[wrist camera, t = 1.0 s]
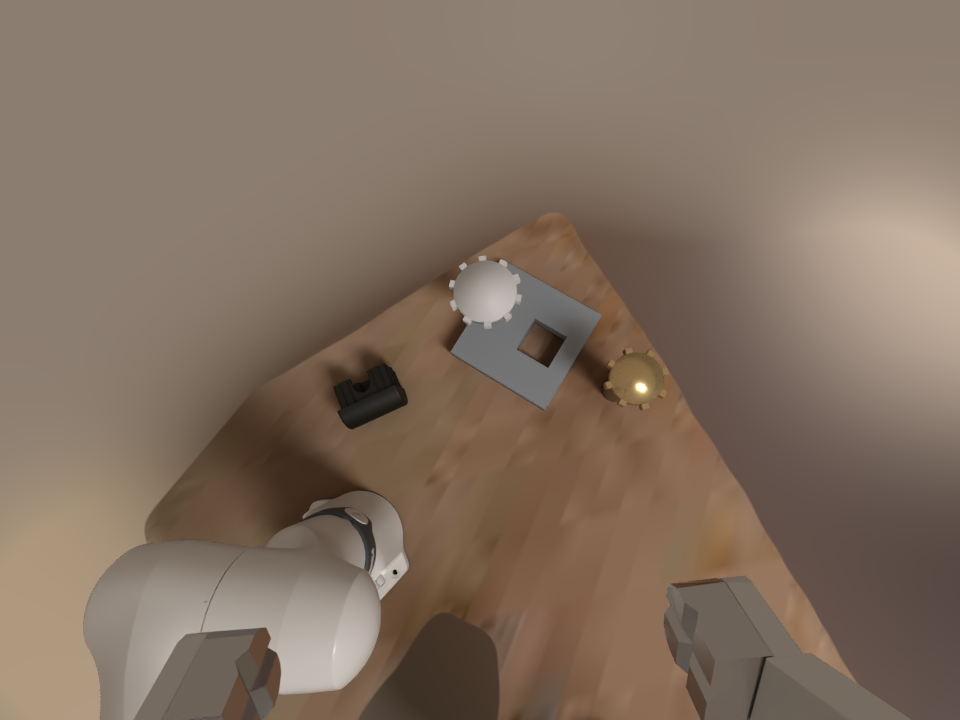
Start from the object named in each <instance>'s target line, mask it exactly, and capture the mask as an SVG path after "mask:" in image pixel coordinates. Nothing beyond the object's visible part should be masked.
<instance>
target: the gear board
mask: <svg viewBox="0 0 960 720" xmlns="http://www.w3.org/2000/svg"><path fill="white" fill-rule="evenodd" d="M459 269H460V271H461V272H460V274H459V275H458V277H457V278H456V281H454V280H450V284H449V288H450V290H453V294H454V300H452V301H450V304H451V306H452V308H453V310H457V309H459V311H460V312H461V313H462V315H463V316H464V318H463V322H464V323H466V324H467V326H466V328H465V330H464V331H463V333H462V334H461V336H460V337H459V339H458V341H457V342H456V344H455V345H454V347H453V348H452V350H451V352H450V353H451V354H452V355H453V356H454V357H456V358H458V359H459V360H461V361H463V362H464V363H466V364H468V365H469V366H471V367H472V368H474V369H476V370H477V371H479V372H481V373H482V374H484V375H486V376H487V377H489V378H491V379H492V380H494V381H496V382H497V383H499V384H501V385H502V386H504V387H505V388H507V389H509V390H510V391H512V392H514V393H515V394H517V395H519V396H520V397H522V398H524V399H525V400H527V401H529V402H530V403H532V404H533V405H535V406H537V407H538V408H540V409H542V410H543V411H544V410H545V409H546V408H547V406H548V404H549V403H550V401H551V399H552V398H553V396H554V394H555V393H556V391H557V389H558V388H559V386H560V384H561V383H562V381H563V379H564V378H565V376H566V374H567V373H568V371H569V369H570V368H571V366H572V364H573V363H574V361H575V359H576V358H577V356H578V354H579V353H580V351H581V349H582V347H583V346H584V344H585V342H586V341H587V339H588V337H589V336H590V334H591V332H592V331H593V329H594V327H595V326H596V324H597V322H598V321H599V319H600V317H601V316H602V315H601V314H599V313H597V312H595V311H594V310H592V309H590V308H588V307H586V306H585V305H583V304H581V303H579V302H577V301H576V300H574V299H572V298H570V297H568V296H567V295H565V294H563V293H561V292H560V291H558V290H556V289H554V288H552V287H551V286H549V285H547V284H545V283H543V282H542V281H540V280H538V279H536V278H534V277H533V276H531V275H529V274H527V273H526V272H524V271H522V270H520V269H518V268H517V267H515V266H513V265H511V264H509V263H508V262H506V261H504V260H502V259H501V260H500V261H499V263H497V262H494V261H486V256H479V261H478V262H474V263H472V264H470V265H468V266H467V265H466V264H465V263H463V264H462V265H460V266H459ZM534 323H535V324H537V325H539V326H540V327H542V328H544V329H546V330H547V331H549V332H551V333H553V334H554V335H556V336H558V337H560V338H561V339H563V340H565V341H564V343H563V344H562V346H561V348H560V349H559V351H558V353H557V354H556V356H555V358H554V359H553V361H552V362H551V364H550V366H549V367H548V368H547V367H546V366H544V365H542V364H540V363H539V362H537V361H535V360H534V359H532V358H530V357H529V356H527V355H525V354H523V353H522V352H520V351H518V349H519V347H520V345H521V344H522V342H523V340H524V339H525V337H526V336H527V334H528V332H529V331H530V329H531V327H532V326H533V324H534Z"/></svg>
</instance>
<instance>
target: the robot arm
mask: <svg viewBox="0 0 960 720" xmlns="http://www.w3.org/2000/svg"><path fill="white" fill-rule="evenodd" d="M408 568H409V563H408V559H407V556H406V554H405V551H404V549H403V530H402V525H401V521H400V518H399V516H398V514H397V512H396V511H395V509H394V508H393V506H392V505H391V504H390V503H389V502H388V501H387V500H386V499H384V498H383V497H381V496H379V495H377V494H375V493H372V492H368V491H353V492H349V493H346V494H343V495H341V496H339V497H337V498H334V499H322V500H317V501H315V502H314V503H312V504H311V506H310V508H309V511H308V512H307V513H305V514H304V515H303V520H301V521H300V522H299V523H297V524H294V525H291V526H289V527H286V528H284V529H282V530H281V531H279V532H278V533H276V534H275V535H274V536H273V537H272V538H271V539H270V540H269V541H268V543H267V544H266V546H265V547H259V546H257V547H248V546H240V545H233V544H225V543H217V542H209V541H201V540H179V541H167V542H158V543H150V544H143V545H140V546H137V547H135V548H133V549H131V550H129V551H128V552H126V553H125V554H123V555H122V556H121V557H120V558H119V559H117V560H116V561H115V562H114V563H113V564H112V565H111V566H110V567H109V568H108V569H107V570H106V571H105V573H104V574H103V575H102V577H101V578H100V579H99V581H98V582H97V584H96V586H95V587H94V589H93V591H92V593H91V595H90V597H89V600H88V602H87V605H86V610H85V614H84V622H83V631H84V639H85V642H86V644H87V647H88V648H89V650H90V652H91V654H92V656H93V658H94V660H95V663H96V666H97V670H98V675H99V681H100V691H101V692H100V693H101V707H100V708H101V709H100V720H263V719H264V718H265V717H266V715H267V714H268V713H269V712H270V711H271V710H272V709H273V708H274V706H275V702H276V699H277V696H278V694H301V693H314V692H323V691H332V690H339V689H342V688H343V687H344V686H346V685H347V684H348V683H349V682H350V681H351V680H352V679H353V678H354V677H355V676H356V675H357V674H358V673H359V672H360V670H361V669H362V668H363V666H364V665H365V663H366V662H367V660H368V659H369V657H370V655H371V653H372V651H373V649H374V646H375V644H376V641H377V638H378V634H379V630H380V623H381V605H380V600H381V599H382V598H383V597H384V596H385V595H386V594H387V593H388V591H389V590H390V589H391V588H392V587H393V586H394V585H395V584H396V583H397V582H398V580H399V579H400V578H401V577H402V576H403V575H404V574H405V573H406V572H407V570H408ZM393 570H397V572H398V573H397V574H394V572H393ZM666 597H667V599H668V601H669V603H670V605H671V606H670V607H669V608H668V609H667V610H666V611H665V614H664V628H665V634H666V639H667V642H668V646H669V649H670V651H671V654H672V656H673V658H674V661H675V663H676V664H677V665H678V666H679V667H681V668H682V669H683V670H684V671H685V672H687V673H688V677H687V684H686V688H687V690H688V693H689V695H690V697H691V699H692V702H693V704H694V706H695V708H696V711H697V713H698V715H699V717H700V720H911V719H909V718H907V717H906V716H905V715H903V714H902V713H900V712H899V711H897V710H896V709H894V708H893V707H891V706H890V705H888V704H887V703H885V702H884V701H882V700H881V699H879V698H878V697H876V696H875V695H873V694H872V693H870V692H869V691H867V690H866V689H864V688H863V687H861V686H860V685H858V684H857V683H855V682H854V681H852V680H851V679H849V678H848V677H846V676H845V675H843V674H842V673H840V672H839V671H837V670H836V669H834V668H833V667H831V666H830V665H828V664H827V663H825V662H824V661H822V660H821V659H819V658H818V657H816V656H815V655H813V654H812V653H807V654H803V653H802V651H801V650H800V648H799V647H798V646H797V644H796V643H795V641H794V640H793V639H792V637H791V636H790V634H789V633H788V632H787V630H786V629H785V627H784V626H783V625H782V623H781V622H780V620H779V619H778V618H777V616H776V615H775V613H774V612H773V611H772V609H771V608H770V606H769V605H768V604H767V602H766V601H765V599H764V598H763V597H762V595H761V594H760V592H759V591H758V589H757V588H756V587H755V585H754V584H753V582H752V581H751V580H750V579H749V578H747V577H746V576H736V577H727V578H719V579H718V578H712V579H704V580H696V581H687V582H679V583H671V584H670V585H669V586H668V589H667V596H666Z"/></svg>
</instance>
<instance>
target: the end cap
mask: <svg viewBox="0 0 960 720" xmlns="http://www.w3.org/2000/svg"><path fill="white" fill-rule="evenodd" d="M366 372H367V374H368V377H369V380H367V381H365V382H363V383H357V384H354V385H353V384H352V382H351V379H349V380H347V381H345V382H342V383H340V384H338V385H336V386H334V387H333V388H334V390H335V393H336V396H337V398H338V401H339V403H340V406H341V408H342V409H341V410H339V411H337V412H338V414H339V416H340V418H341V420H342V421H343V423H344V424H345V425H346V426H347V427H348V428H349V429H355V428H357V427H359V426H361V425H363V424H365V423H368V422H370V421H372V420H374V419H376V418H379V417H381V416H383V415H385V414H387V413H389V412H392V411H394V410H396V409H398V408H400V407H402V406H405V405H407V403H408V399H407V396H406V393H405V390H404V388H401V386H400V383H399V381H398V378H397V376H396V374H395V372H394V371H393V370H392V368H391V367H388V365H386V364H382V365H380V366H377V367H375V368H373V369H371V370H369V371H366Z"/></svg>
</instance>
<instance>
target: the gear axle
mask: <svg viewBox="0 0 960 720" xmlns="http://www.w3.org/2000/svg"><path fill="white" fill-rule="evenodd" d="M655 354H656V353H654V352H652V351H650V350H649V351H647V352H646V354H644V353H637V352H636V353H633V351H632V348H627V349H625V350H623V355H624V356H622V357H621V358H619V359H618V360H617V361H616V362H615V361H613V360H610V361H609V362H608V363H607V365H606V367H607V368H609V369H610V372H609V377H608V379H607V380H606V381H605V382H604V383H603V386H602V393H603V395H604V397H605V398H606V399H607V400H609V401H612V402H617V405H619V406H620V407H625V405H626V404H630V405H639V409H640V410H644V409H648V408H650V407H649V404H648V403H649V402H651V401H652V400H654V399H655V398H656V397H659V398H664V397H665V395H666V393H667V391H665V390H664V389H662V388H663V385H664V376H666V375H668V374H669V372H668V369H667V368H663V369H662V368H661V367H660V365H659V364H658V362H657V361H656V360H655V359H653V357H654V355H655ZM645 403H646V404H645Z"/></svg>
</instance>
